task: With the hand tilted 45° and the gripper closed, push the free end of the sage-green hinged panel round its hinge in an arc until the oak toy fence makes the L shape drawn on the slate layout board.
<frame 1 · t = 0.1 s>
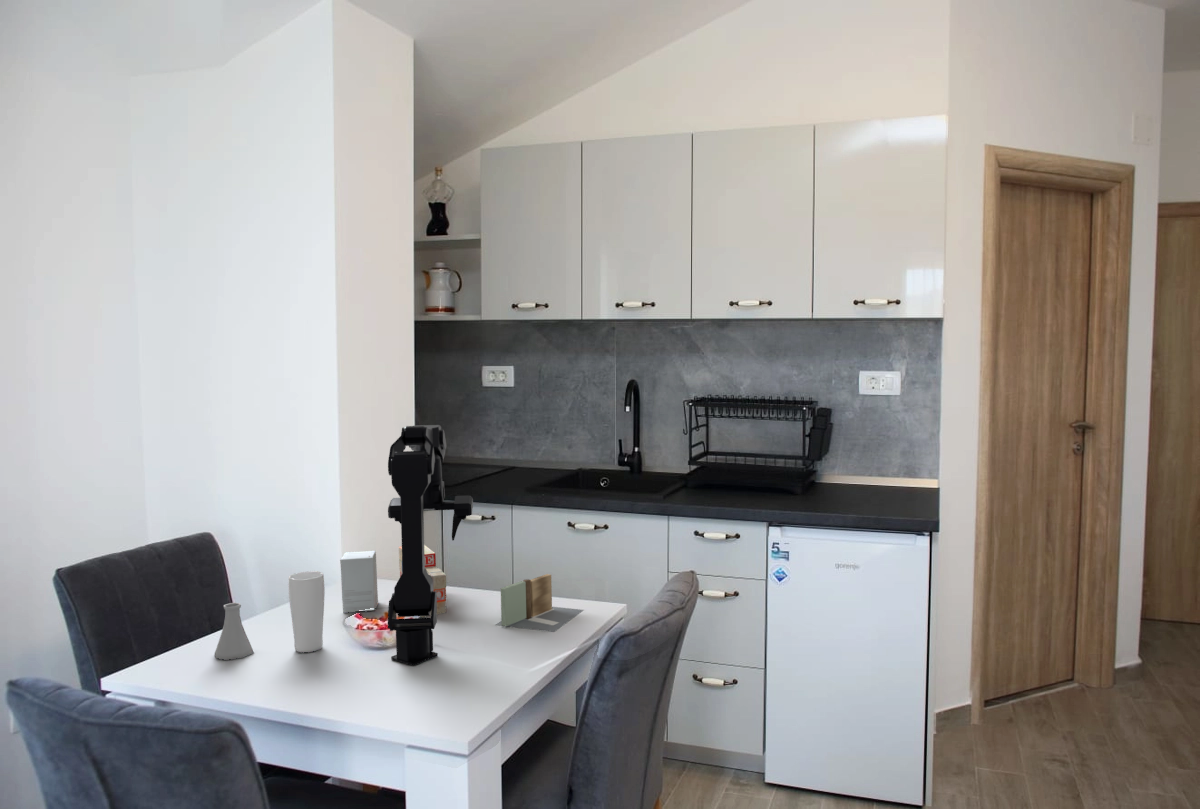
hand: (433, 540, 197), 15 cm above the table, tool pointing down, fingers open, 9 cm apart
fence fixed: (527, 618, 186), resting on layout board
supplement box: (360, 608, 197), on the table
fence hinged panel: (513, 603, 182), point 5 cm above the table, hinge at 0.0°
stack of blocks: (422, 605, 199), on the table
flask: (234, 655, 167), on the table
layout board: (540, 619, 186), on the table
drinking glass: (308, 650, 170), on the table
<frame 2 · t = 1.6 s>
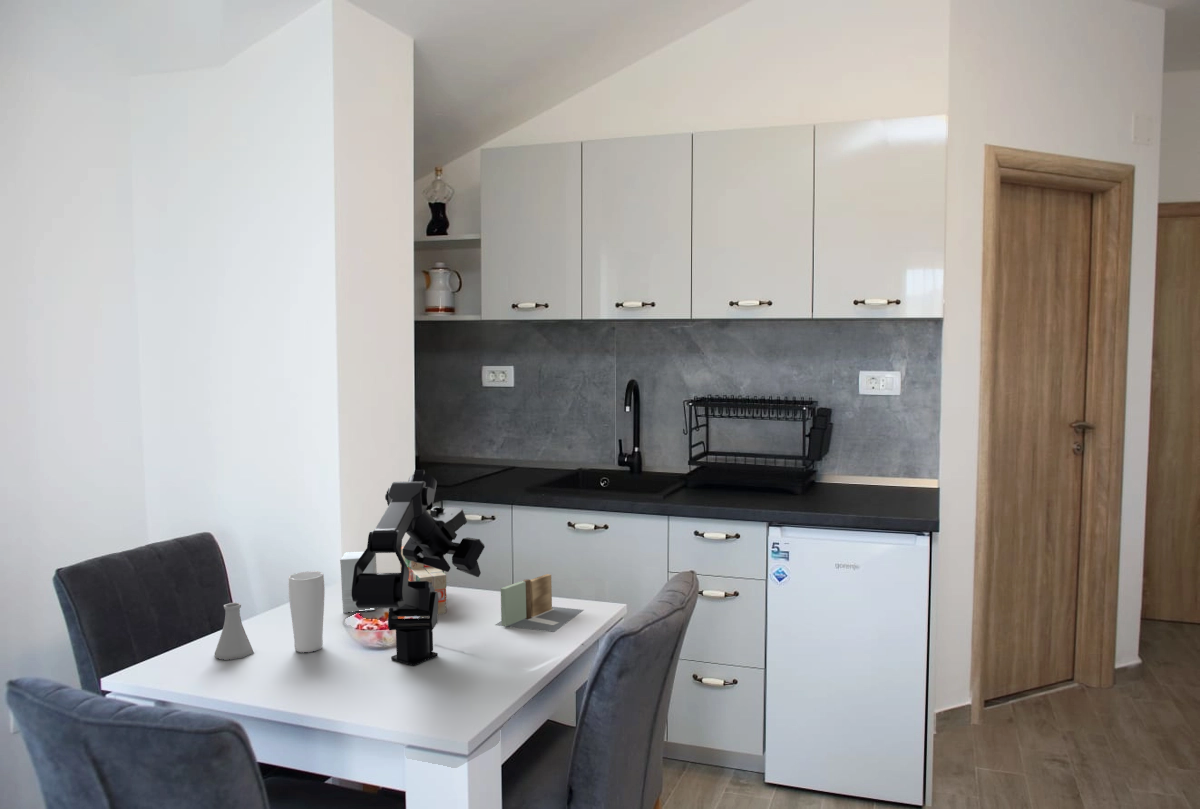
hand: (463, 572, 177), 13 cm above the table, tool tilted 45°, fingers open, 8 cm apart
nothing on the table moved.
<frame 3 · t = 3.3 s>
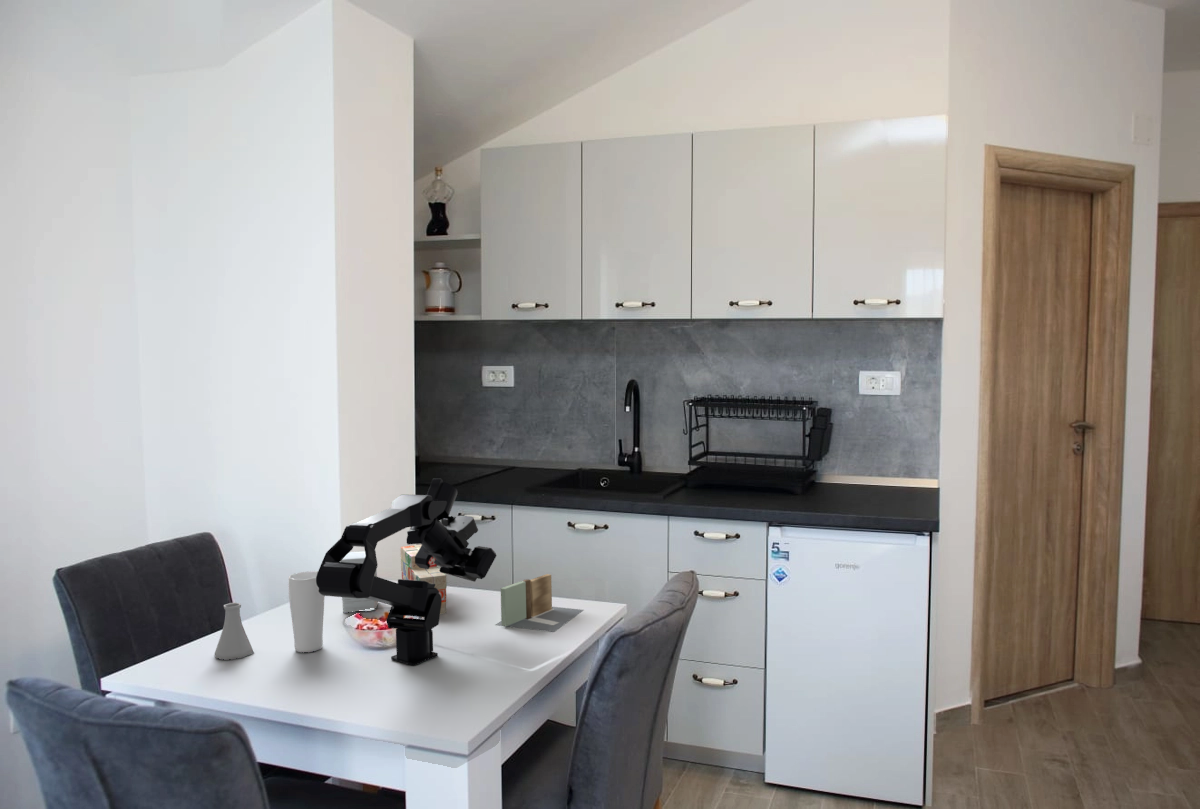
hand: (474, 579, 180), 11 cm above the table, tool tilted 45°, fingers closed
nothing on the table moved.
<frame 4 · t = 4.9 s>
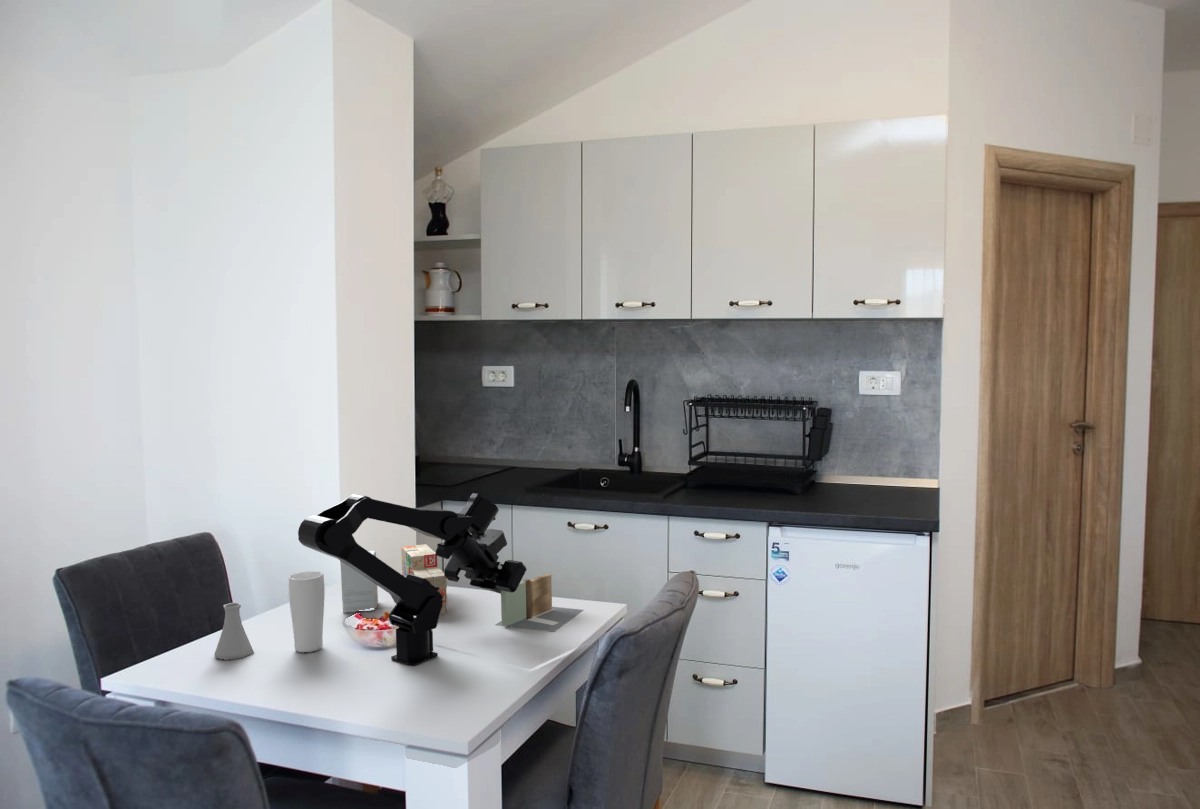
hand: (503, 592, 182), 7 cm above the table, tool tilted 45°, fingers closed
fence hinged panel: (513, 603, 182), point 5 cm above the table, hinge at 0.5°, touching gripper
everything else where it was.
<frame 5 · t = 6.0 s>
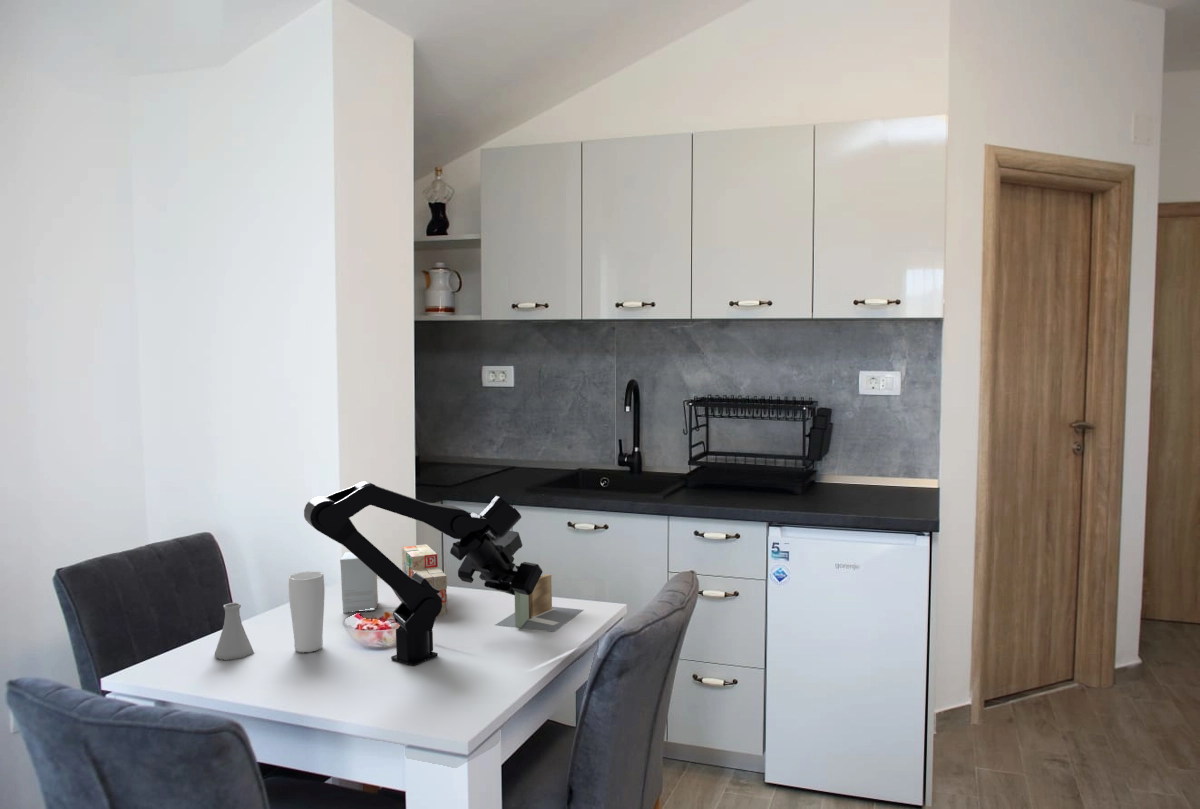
hand: (516, 593, 181), 7 cm above the table, tool tilted 45°, fingers closed, pressing on fence hinged panel
fence hinged panel: (521, 604, 181), point 5 cm above the table, hinge at 25.8°, touching gripper
everything else where it was.
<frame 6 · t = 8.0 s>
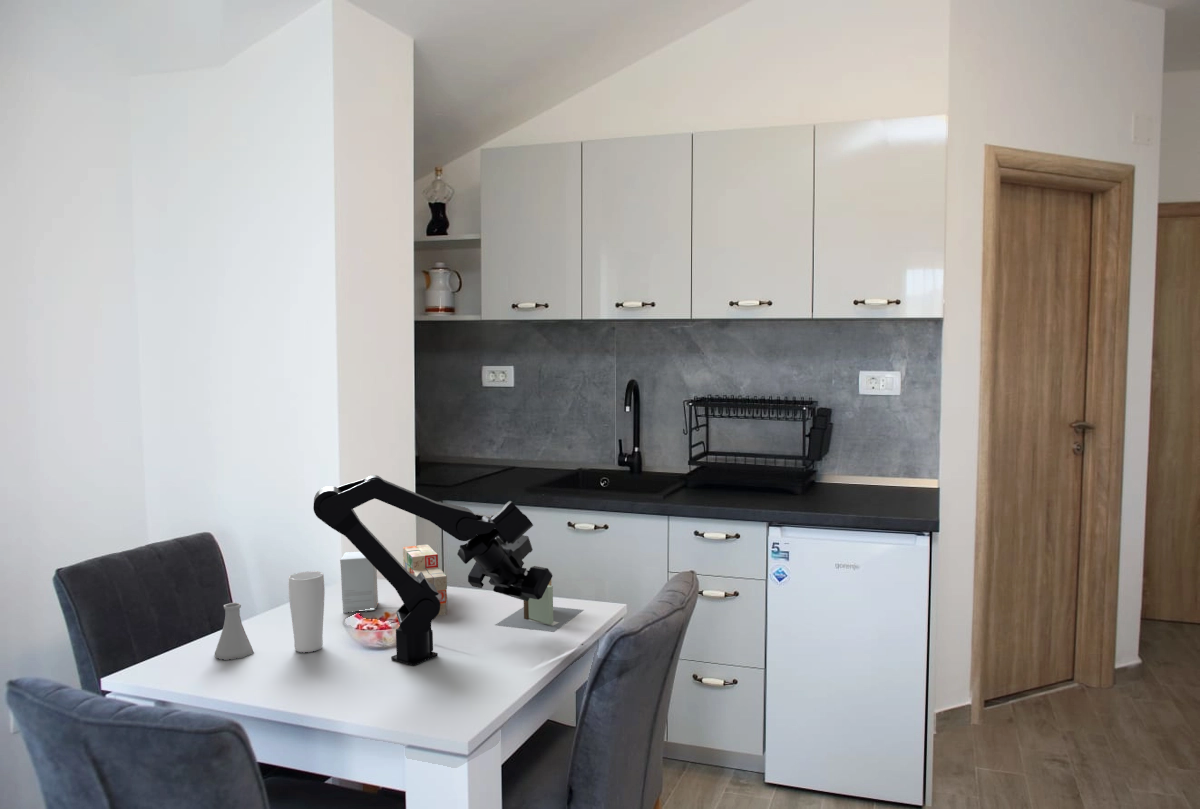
hand: (527, 599, 178), 7 cm above the table, tool tilted 45°, fingers closed
fence hinged panel: (540, 602, 182), point 5 cm above the table, hinge at 80.8°
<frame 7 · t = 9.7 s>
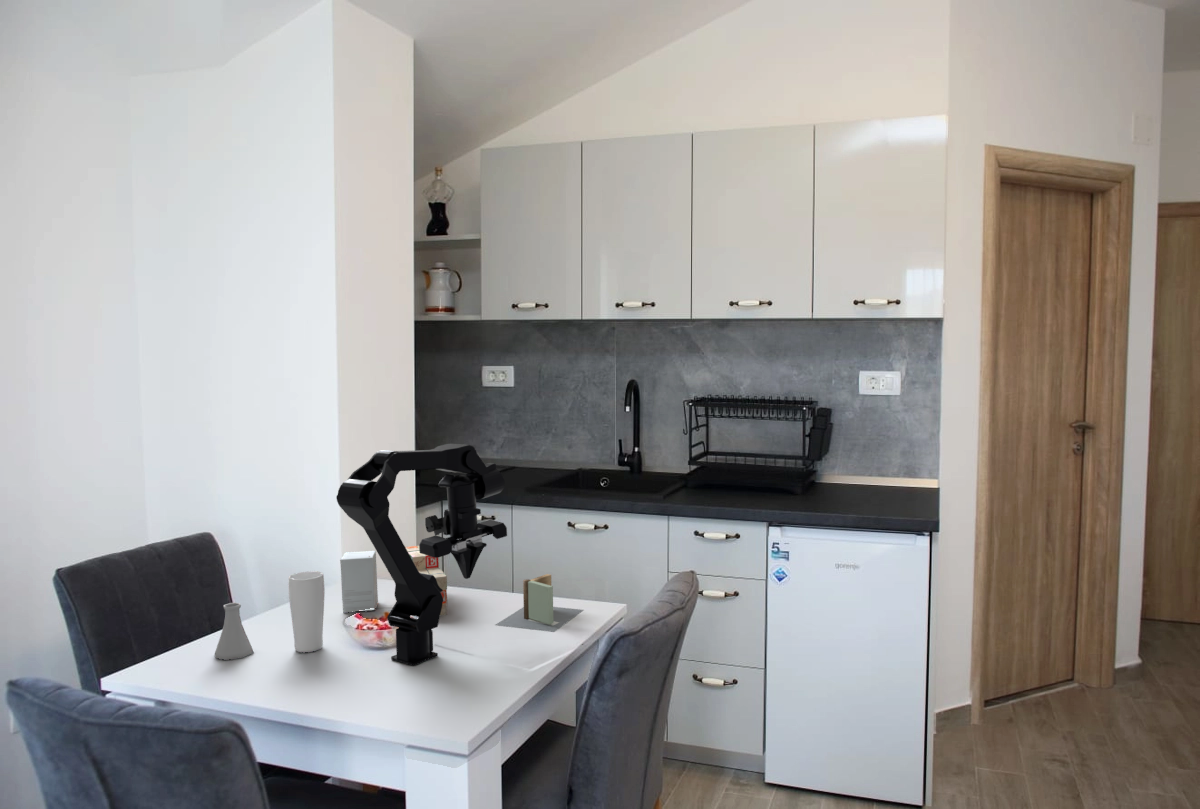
hand: (466, 578, 175), 12 cm above the table, tool pointing down, fingers closed
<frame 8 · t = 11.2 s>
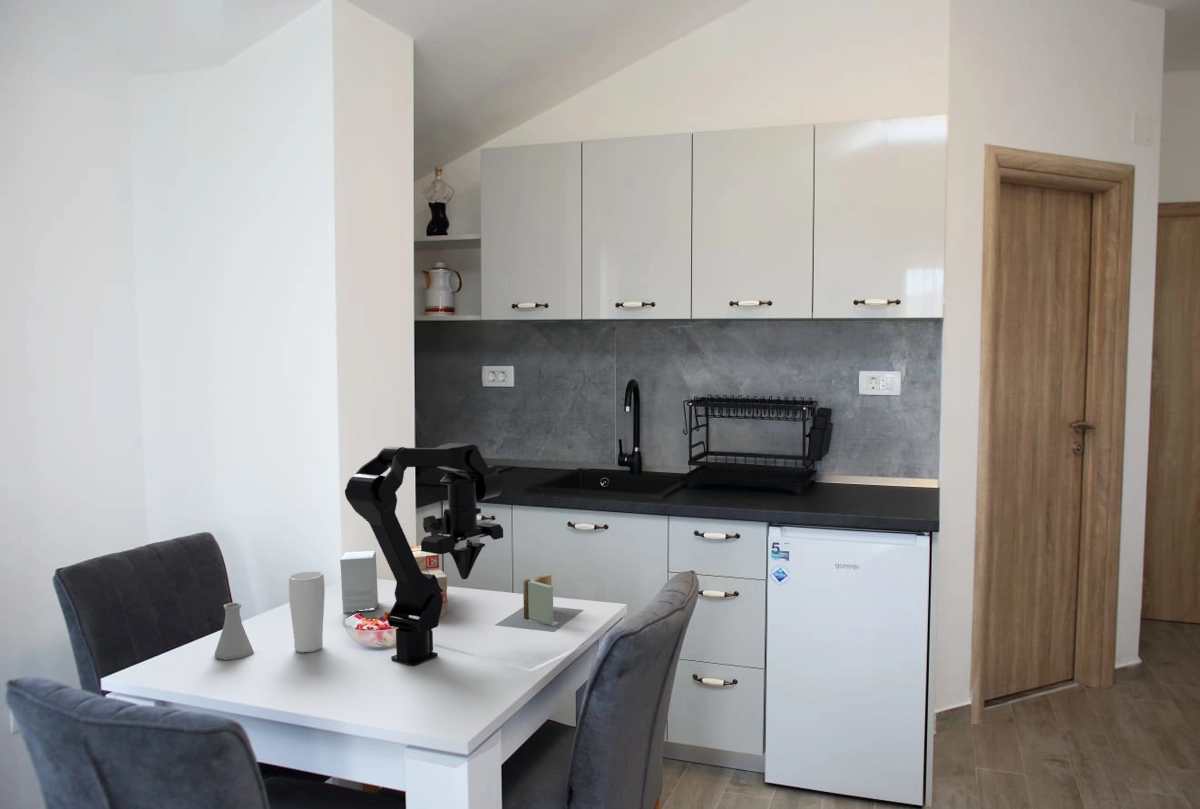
hand: (464, 578, 175), 12 cm above the table, tool pointing down, fingers closed
at the end: fence hinged panel at +81° (first picture: +0°) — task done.
